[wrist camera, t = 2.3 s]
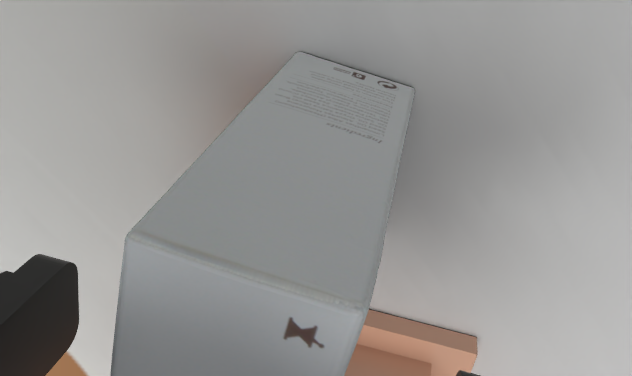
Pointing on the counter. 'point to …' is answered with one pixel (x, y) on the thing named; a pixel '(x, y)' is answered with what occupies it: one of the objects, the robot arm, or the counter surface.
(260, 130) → the skincare box
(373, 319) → the tan open box
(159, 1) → the counter surface
